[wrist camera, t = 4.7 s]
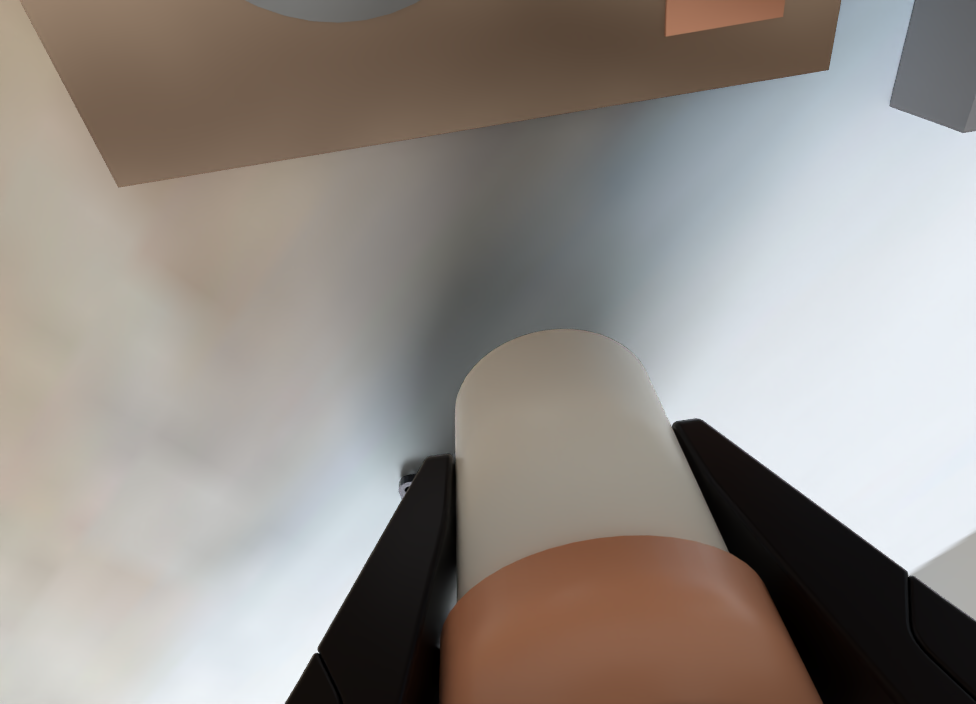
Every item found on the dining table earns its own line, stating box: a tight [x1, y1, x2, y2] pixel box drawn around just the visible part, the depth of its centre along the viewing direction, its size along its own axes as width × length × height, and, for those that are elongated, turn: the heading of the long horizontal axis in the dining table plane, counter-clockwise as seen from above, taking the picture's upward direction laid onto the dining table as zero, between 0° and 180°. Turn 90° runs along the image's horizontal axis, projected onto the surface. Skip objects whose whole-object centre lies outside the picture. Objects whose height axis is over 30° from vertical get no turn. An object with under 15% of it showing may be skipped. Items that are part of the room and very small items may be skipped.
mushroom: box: [439, 329, 823, 704], centre depth 8 cm, size 4×4×6 cm
